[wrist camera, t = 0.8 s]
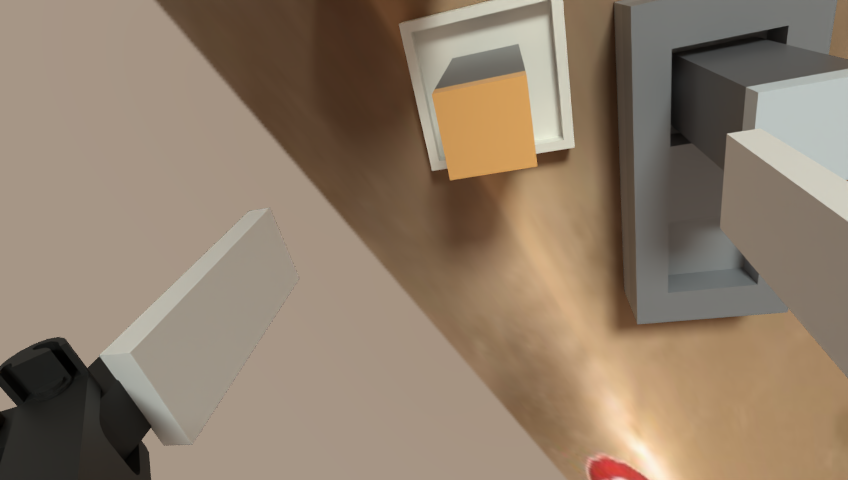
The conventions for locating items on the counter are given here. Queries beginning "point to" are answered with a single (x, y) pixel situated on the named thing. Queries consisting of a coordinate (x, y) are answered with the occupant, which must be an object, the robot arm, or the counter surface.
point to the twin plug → (763, 98)
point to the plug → (485, 114)
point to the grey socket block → (688, 157)
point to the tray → (486, 30)
